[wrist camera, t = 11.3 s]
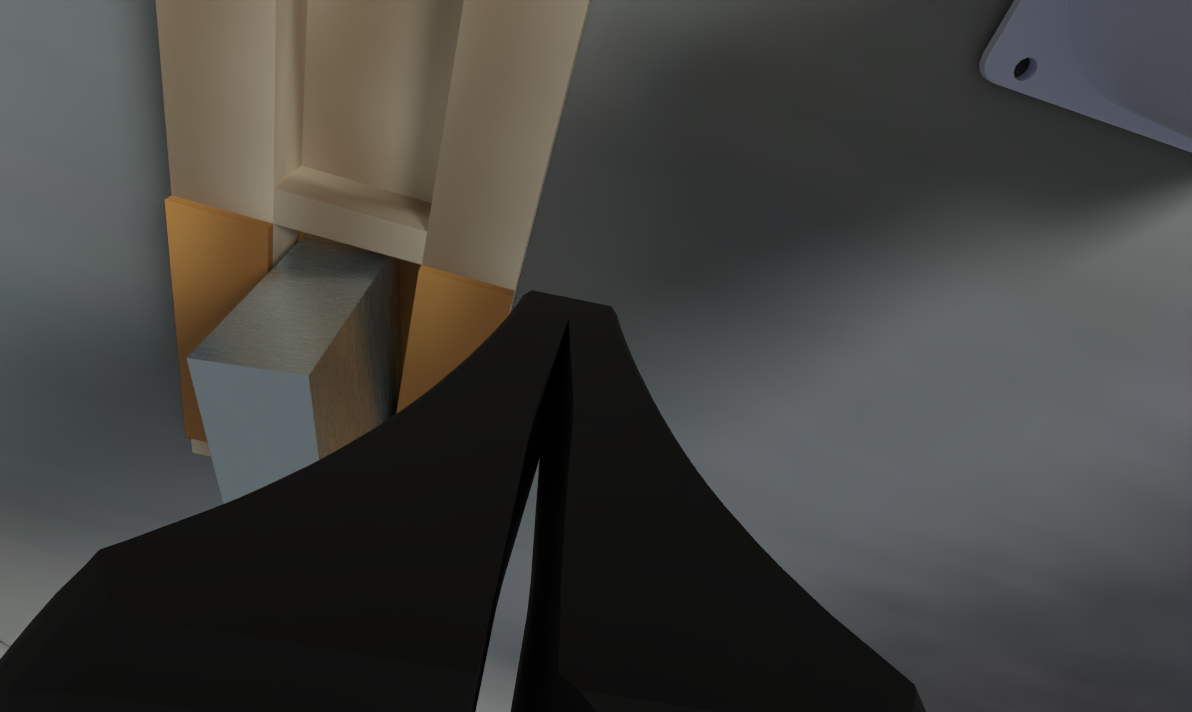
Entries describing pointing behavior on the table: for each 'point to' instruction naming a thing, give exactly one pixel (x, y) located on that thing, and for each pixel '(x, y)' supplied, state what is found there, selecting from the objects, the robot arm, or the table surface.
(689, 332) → the table surface
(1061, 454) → the table surface
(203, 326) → the rack
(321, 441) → the brushed gray metal block
